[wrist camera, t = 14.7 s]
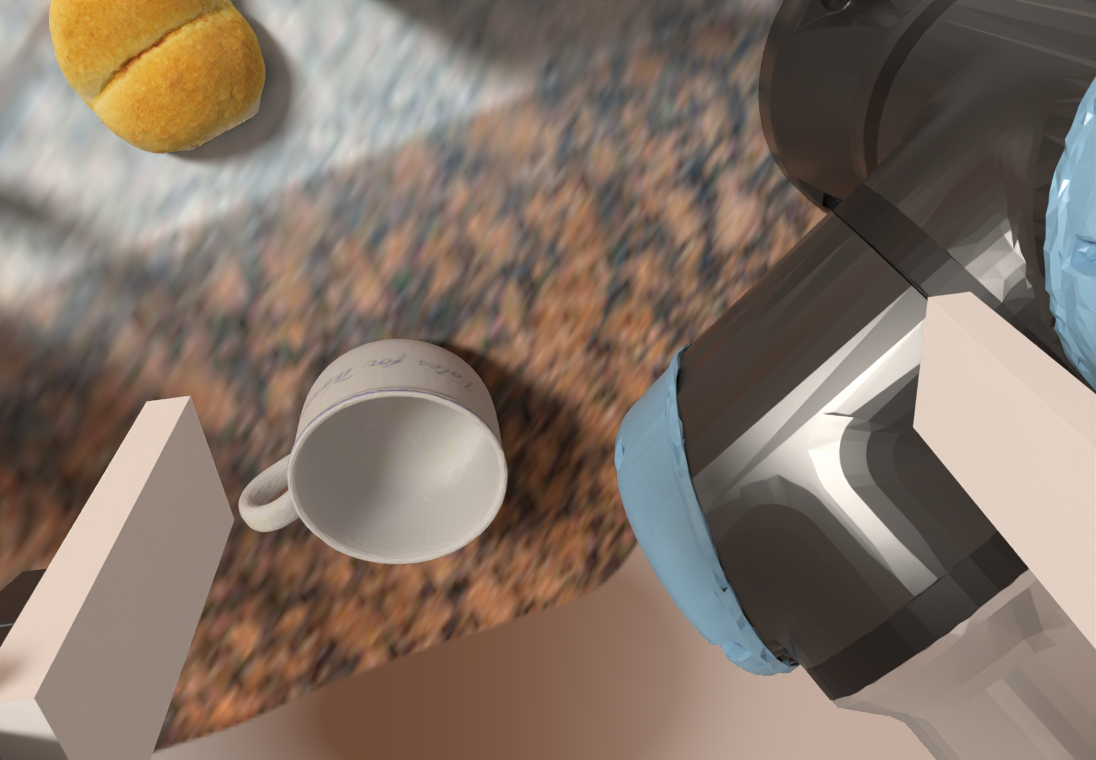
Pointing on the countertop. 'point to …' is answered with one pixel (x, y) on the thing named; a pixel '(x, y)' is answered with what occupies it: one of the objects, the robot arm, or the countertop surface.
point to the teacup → (389, 457)
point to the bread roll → (160, 67)
